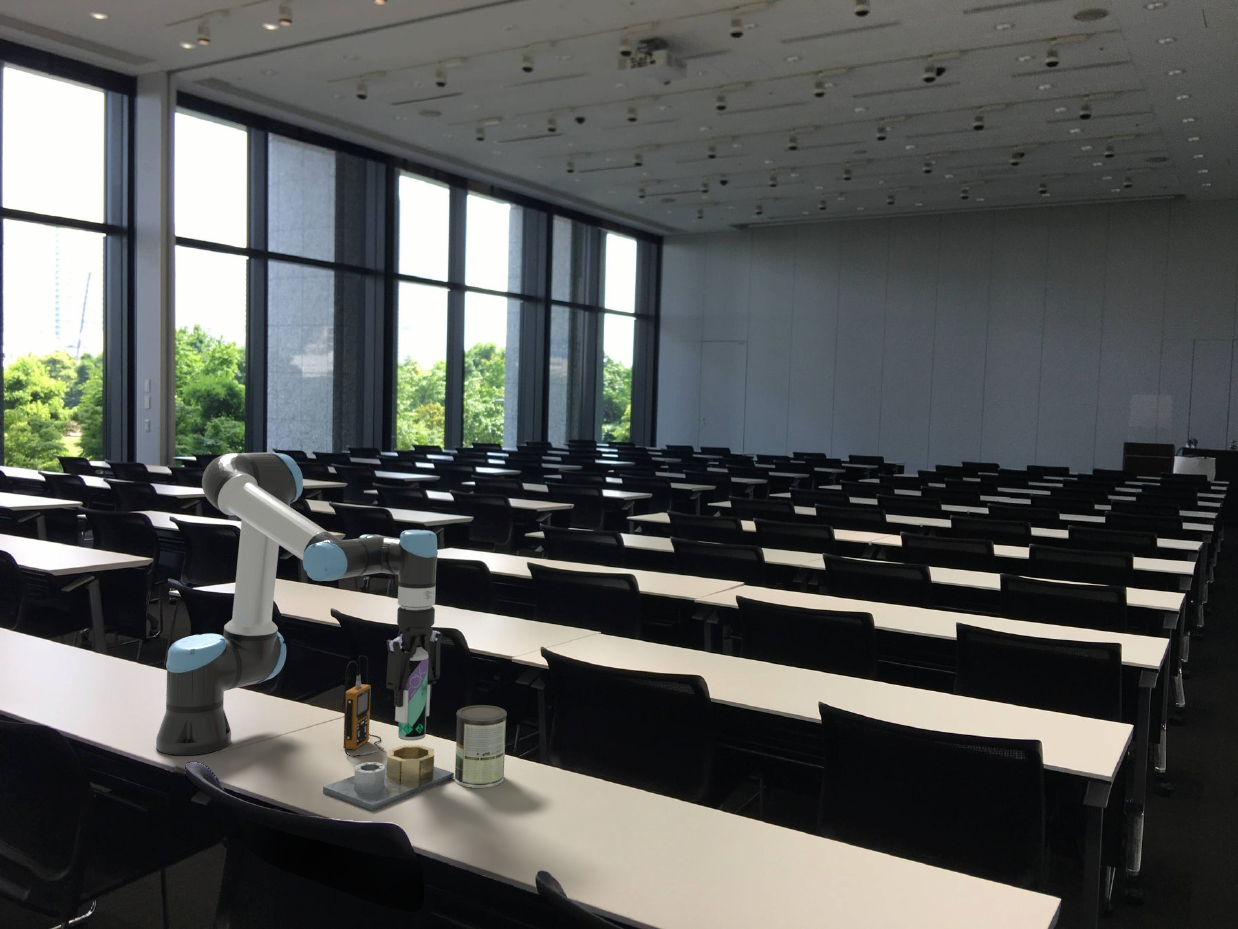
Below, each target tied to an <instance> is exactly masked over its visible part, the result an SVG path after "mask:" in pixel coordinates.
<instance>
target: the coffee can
mask: <svg viewBox="0 0 1238 929" xmlns="http://www.w3.org/2000/svg"><path fill="white" fill-rule="evenodd" d="M507 716H508V712H507V711H506V710H505V709H504V708H503V707H502V708H501V707H499V706H494V705H485V704H484V705H483V704H478V705H477V704H476V705H469V706H465V707H461V708H460V709H458V710H457V712H456V739H455V765H454V768H455V770H454V779H453V780H454V782H455V783H456V784H457V785H458V786H461V785H462V787H465V788H469V787H472V788H471V789H486V787H488V788H493V787H496V786H498V785H500V784H502V783H503V782H504V780H505V777H504V776H505V775H504V773H505V755H506V754H505V751H506V750H505V749H506V732H507V731H506V730H507V729H506V727H507Z"/></svg>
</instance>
